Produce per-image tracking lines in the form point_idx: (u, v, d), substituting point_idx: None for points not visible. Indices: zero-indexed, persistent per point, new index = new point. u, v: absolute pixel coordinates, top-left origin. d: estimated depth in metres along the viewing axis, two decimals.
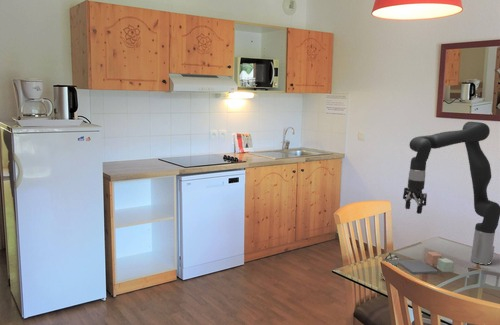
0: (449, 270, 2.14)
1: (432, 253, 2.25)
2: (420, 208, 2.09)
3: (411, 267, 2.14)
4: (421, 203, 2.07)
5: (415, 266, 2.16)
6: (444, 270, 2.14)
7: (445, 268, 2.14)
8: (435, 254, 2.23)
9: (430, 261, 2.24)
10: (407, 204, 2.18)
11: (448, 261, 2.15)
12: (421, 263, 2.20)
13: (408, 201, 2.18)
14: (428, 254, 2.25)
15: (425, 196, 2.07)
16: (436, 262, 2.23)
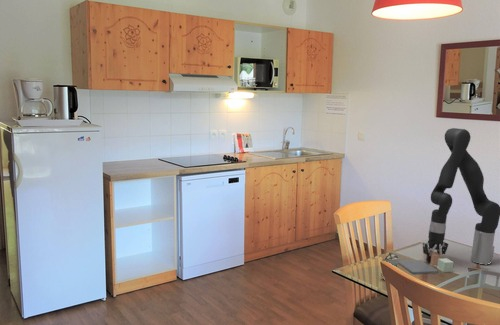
0: (449, 270, 2.14)
1: (432, 253, 2.25)
2: None
3: (411, 267, 2.14)
4: (444, 252, 2.24)
5: (415, 266, 2.16)
6: (444, 270, 2.14)
7: (445, 268, 2.14)
8: (435, 254, 2.23)
9: None
10: None
11: (448, 261, 2.15)
12: (421, 263, 2.20)
13: None
14: None
15: None
16: (436, 262, 2.23)
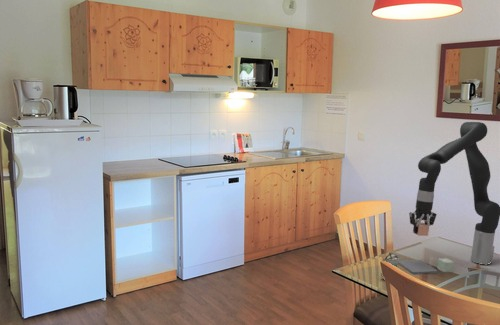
0: (449, 270, 2.14)
1: (419, 223, 2.14)
2: None
3: (411, 267, 2.14)
4: (432, 222, 2.14)
5: (415, 266, 2.16)
6: (444, 270, 2.14)
7: (445, 268, 2.14)
8: (422, 224, 2.13)
9: None
10: None
11: (448, 261, 2.15)
12: (421, 263, 2.20)
13: None
14: None
15: None
16: (423, 233, 2.12)
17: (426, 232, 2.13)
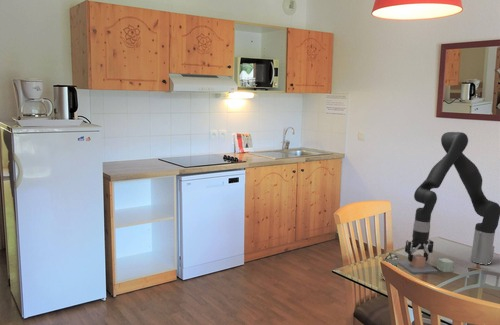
0: (449, 270, 2.14)
1: (416, 255, 2.17)
2: None
3: (411, 267, 2.14)
4: (432, 250, 2.16)
5: None
6: (444, 270, 2.14)
7: (445, 268, 2.14)
8: (419, 257, 2.15)
9: (414, 264, 2.15)
10: None
11: (448, 261, 2.15)
12: None
13: None
14: None
15: None
16: (420, 265, 2.15)
17: (423, 264, 2.15)
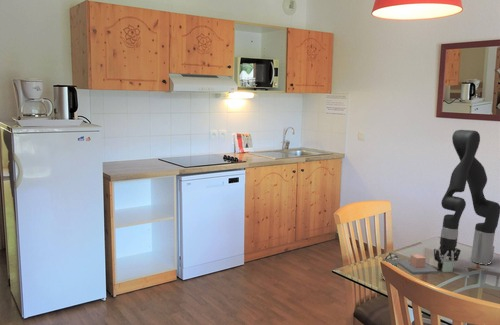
0: (449, 270, 2.14)
1: (416, 255, 2.17)
2: None
3: (411, 267, 2.14)
4: (456, 258, 2.16)
5: None
6: (444, 270, 2.14)
7: (445, 268, 2.14)
8: (419, 257, 2.15)
9: (414, 264, 2.15)
10: None
11: (448, 261, 2.15)
12: None
13: None
14: (412, 256, 2.17)
15: None
16: (420, 265, 2.15)
17: (423, 264, 2.15)
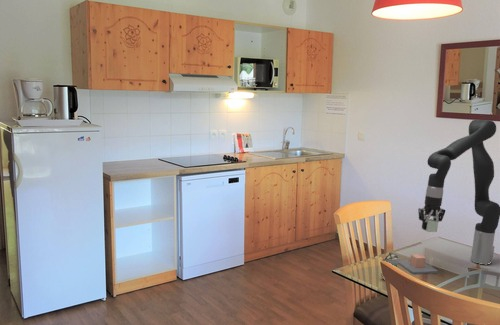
0: (433, 230, 2.11)
1: (416, 255, 2.17)
2: None
3: (411, 267, 2.14)
4: (441, 218, 2.13)
5: None
6: (428, 229, 2.11)
7: (429, 227, 2.11)
8: (419, 257, 2.15)
9: (414, 264, 2.15)
10: None
11: (433, 221, 2.12)
12: None
13: None
14: (412, 256, 2.17)
15: None
16: (420, 265, 2.15)
17: (423, 264, 2.15)
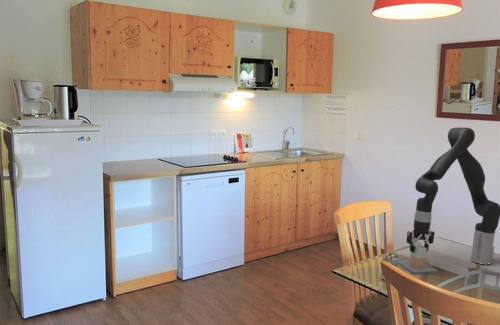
0: (422, 256, 2.14)
1: None
2: None
3: (411, 267, 2.14)
4: (432, 241, 2.16)
5: None
6: (417, 256, 2.13)
7: (418, 254, 2.13)
8: None
9: (414, 264, 2.15)
10: None
11: (421, 247, 2.14)
12: None
13: None
14: (412, 256, 2.17)
15: None
16: (420, 265, 2.15)
17: (423, 264, 2.15)
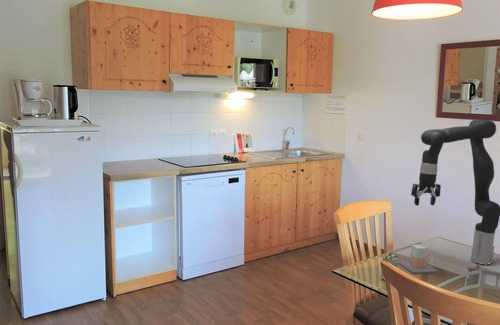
0: (422, 256, 2.14)
1: None
2: None
3: (411, 267, 2.14)
4: (439, 194, 2.12)
5: None
6: (417, 256, 2.13)
7: (418, 254, 2.13)
8: None
9: (414, 264, 2.15)
10: None
11: (421, 247, 2.14)
12: None
13: None
14: (412, 256, 2.17)
15: None
16: (420, 265, 2.15)
17: (423, 264, 2.15)
